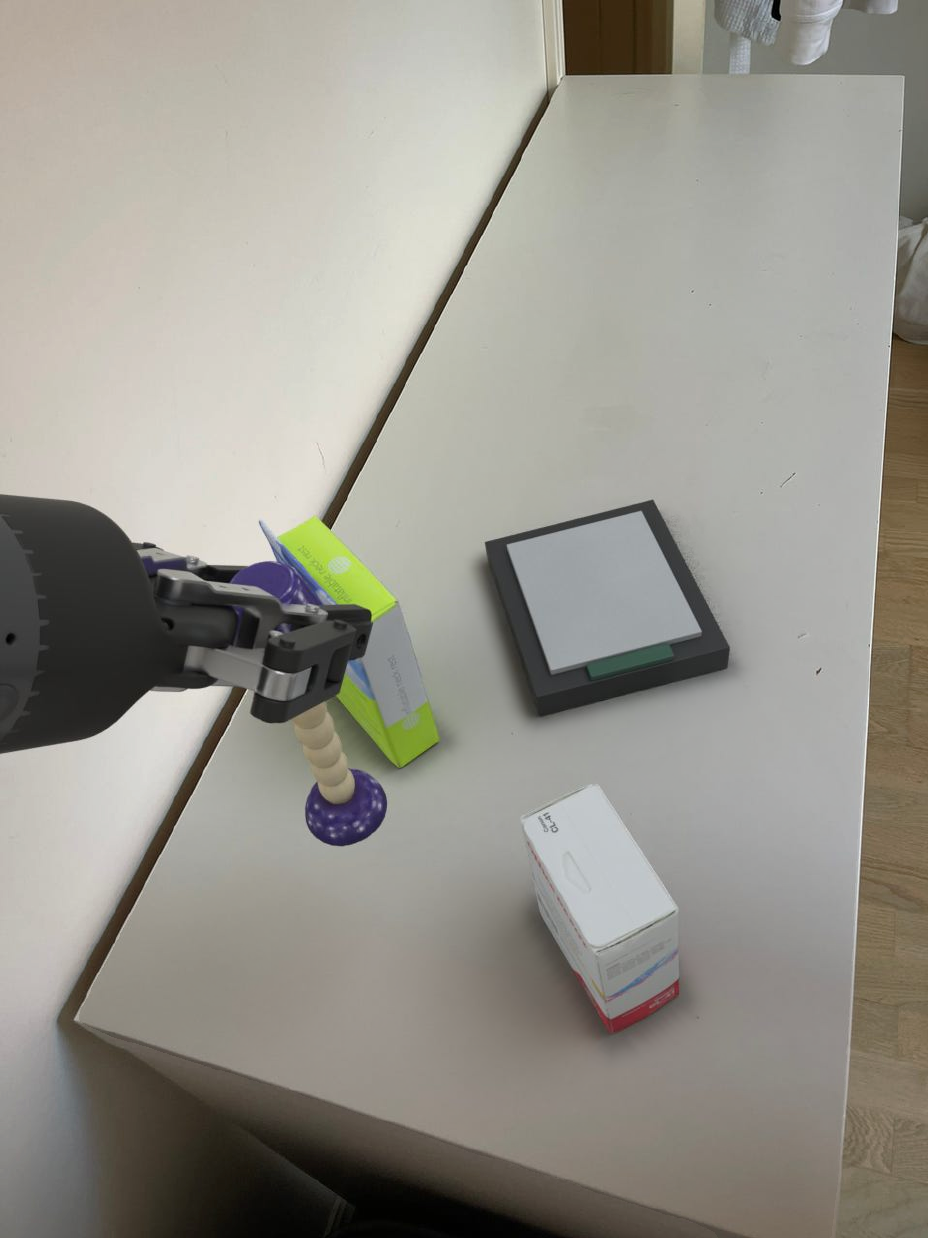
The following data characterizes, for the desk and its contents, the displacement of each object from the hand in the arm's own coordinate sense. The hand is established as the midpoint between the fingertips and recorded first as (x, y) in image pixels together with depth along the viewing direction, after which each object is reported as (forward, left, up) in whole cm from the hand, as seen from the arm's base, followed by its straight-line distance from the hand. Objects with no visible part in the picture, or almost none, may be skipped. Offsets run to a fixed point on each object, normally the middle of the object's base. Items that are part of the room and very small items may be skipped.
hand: (310, 611), depth 42 cm
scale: (+19, -18, -28) cm, 38 cm away
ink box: (-7, -10, -28) cm, 30 cm away
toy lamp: (-2, +1, -13) cm, 14 cm away
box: (+15, 0, -28) cm, 31 cm away
